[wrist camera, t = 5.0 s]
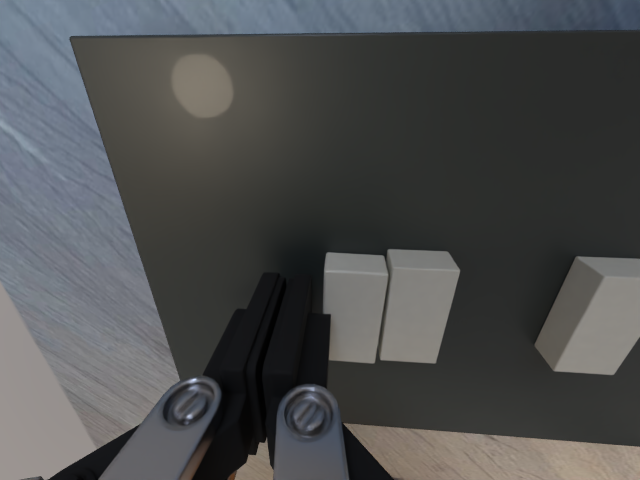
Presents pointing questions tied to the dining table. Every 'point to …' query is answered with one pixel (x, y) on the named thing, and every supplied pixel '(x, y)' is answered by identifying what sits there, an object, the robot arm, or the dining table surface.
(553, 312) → the white rectangular block
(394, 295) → the chalk
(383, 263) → the beige block
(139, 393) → the dining table surface
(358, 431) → the dining table surface
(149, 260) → the slate board
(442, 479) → the dining table surface
